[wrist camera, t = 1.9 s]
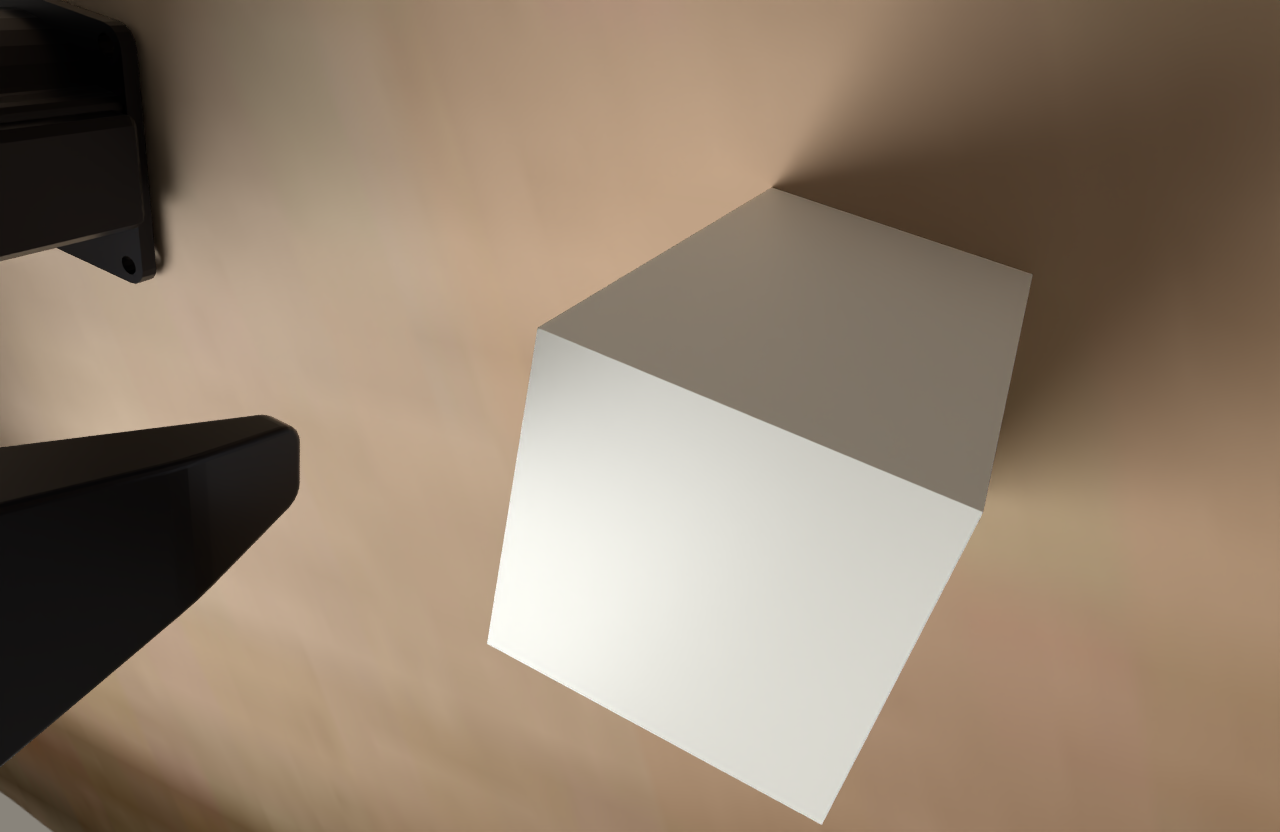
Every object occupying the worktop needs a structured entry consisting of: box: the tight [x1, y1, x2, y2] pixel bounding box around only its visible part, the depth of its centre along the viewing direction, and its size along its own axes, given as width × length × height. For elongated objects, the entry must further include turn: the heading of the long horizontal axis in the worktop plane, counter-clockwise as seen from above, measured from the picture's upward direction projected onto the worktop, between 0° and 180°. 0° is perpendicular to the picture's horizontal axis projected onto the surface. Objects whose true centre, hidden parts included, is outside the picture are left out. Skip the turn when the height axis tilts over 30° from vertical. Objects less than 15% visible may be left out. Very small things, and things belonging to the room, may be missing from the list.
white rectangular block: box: [487, 187, 1033, 825], centre depth 13 cm, size 5×5×8 cm
